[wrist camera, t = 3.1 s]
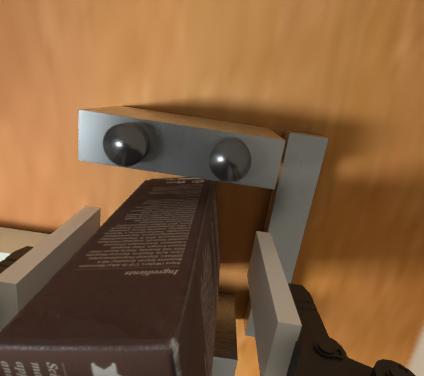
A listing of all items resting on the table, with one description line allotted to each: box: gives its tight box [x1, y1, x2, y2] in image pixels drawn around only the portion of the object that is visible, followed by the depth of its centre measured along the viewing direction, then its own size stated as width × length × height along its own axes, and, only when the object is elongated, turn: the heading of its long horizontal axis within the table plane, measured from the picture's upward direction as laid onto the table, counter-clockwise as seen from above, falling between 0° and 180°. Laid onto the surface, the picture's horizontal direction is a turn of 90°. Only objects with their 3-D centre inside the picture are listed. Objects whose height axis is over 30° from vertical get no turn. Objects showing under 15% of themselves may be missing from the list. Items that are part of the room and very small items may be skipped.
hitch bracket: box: [79, 106, 329, 376], centre depth 15 cm, size 11×13×6 cm
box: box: [0, 178, 220, 376], centre depth 12 cm, size 6×4×12 cm
